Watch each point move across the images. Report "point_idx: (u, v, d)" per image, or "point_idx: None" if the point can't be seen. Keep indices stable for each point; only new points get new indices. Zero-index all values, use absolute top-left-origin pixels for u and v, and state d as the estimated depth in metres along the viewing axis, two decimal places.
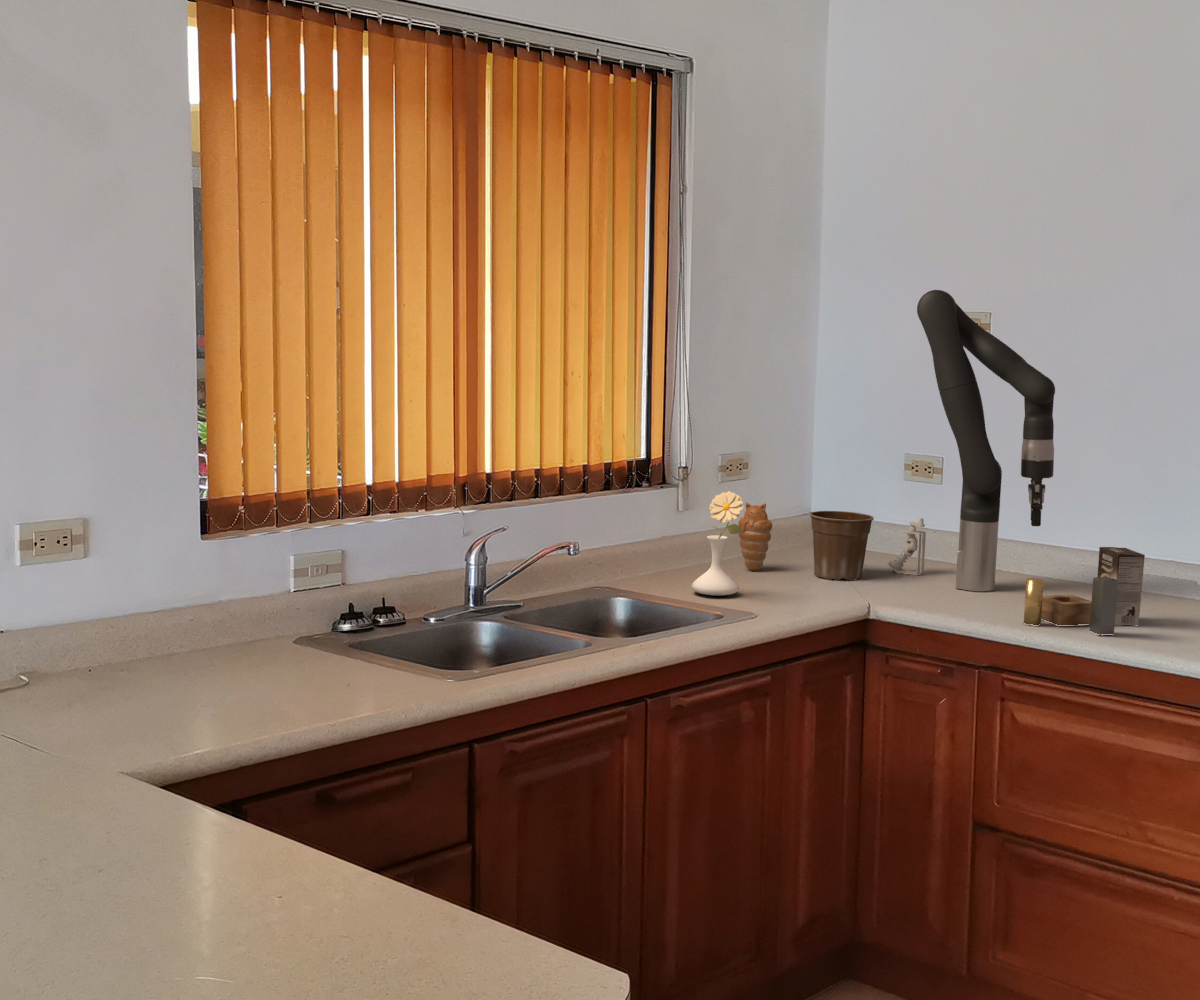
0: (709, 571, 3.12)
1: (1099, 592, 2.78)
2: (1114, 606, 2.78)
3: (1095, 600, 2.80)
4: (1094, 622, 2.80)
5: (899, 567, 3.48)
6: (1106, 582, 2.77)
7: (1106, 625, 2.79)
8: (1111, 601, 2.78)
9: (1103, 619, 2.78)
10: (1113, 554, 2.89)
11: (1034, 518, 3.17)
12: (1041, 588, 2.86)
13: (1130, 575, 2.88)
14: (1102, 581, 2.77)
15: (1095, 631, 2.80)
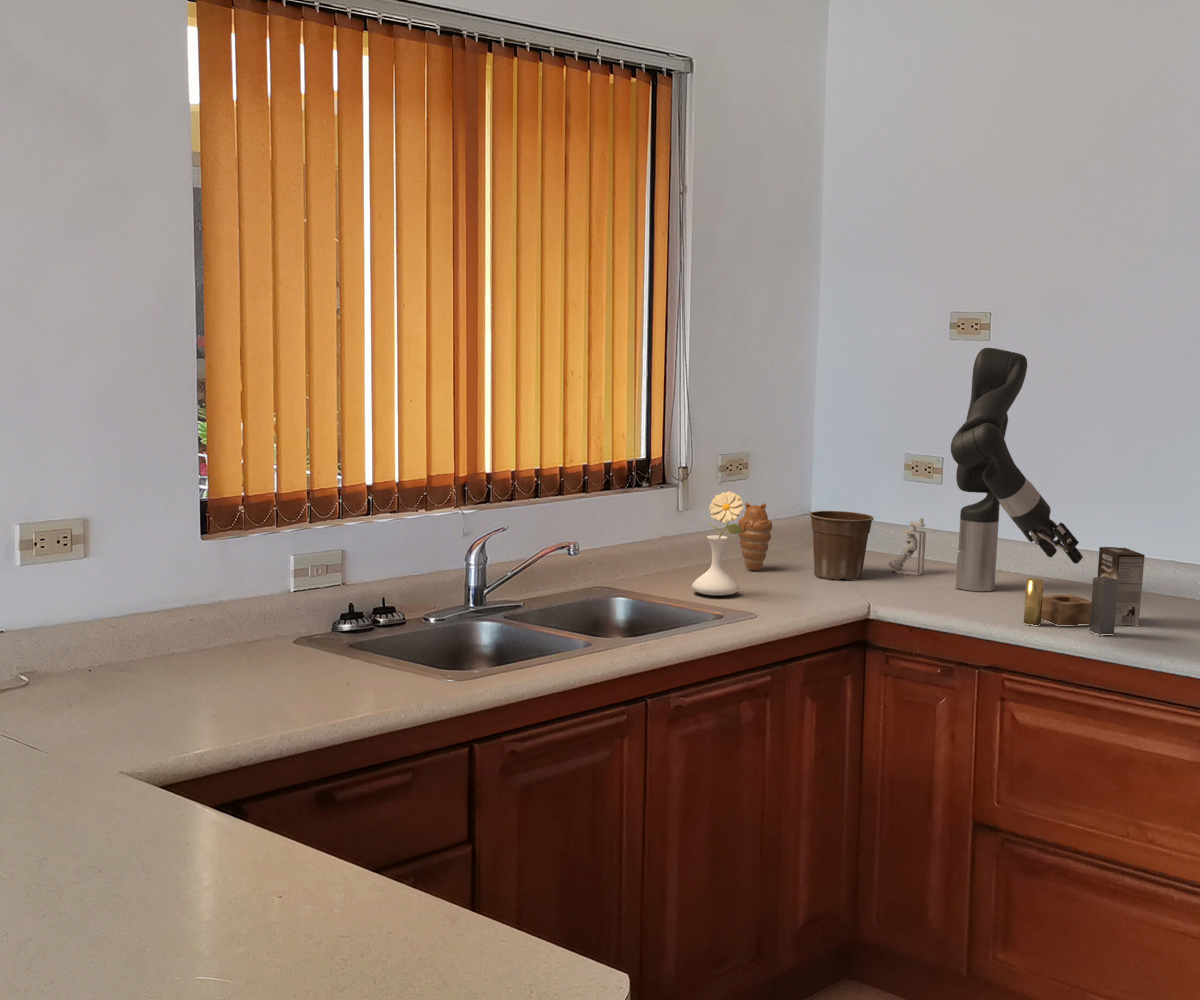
0: (709, 571, 3.12)
1: (1099, 592, 2.78)
2: (1114, 606, 2.78)
3: (1095, 600, 2.80)
4: (1094, 622, 2.80)
5: (899, 567, 3.48)
6: (1106, 582, 2.77)
7: (1106, 625, 2.79)
8: (1111, 601, 2.78)
9: (1103, 619, 2.78)
10: (1113, 554, 2.89)
11: None
12: (1041, 588, 2.86)
13: (1130, 575, 2.88)
14: (1102, 581, 2.77)
15: (1095, 631, 2.80)
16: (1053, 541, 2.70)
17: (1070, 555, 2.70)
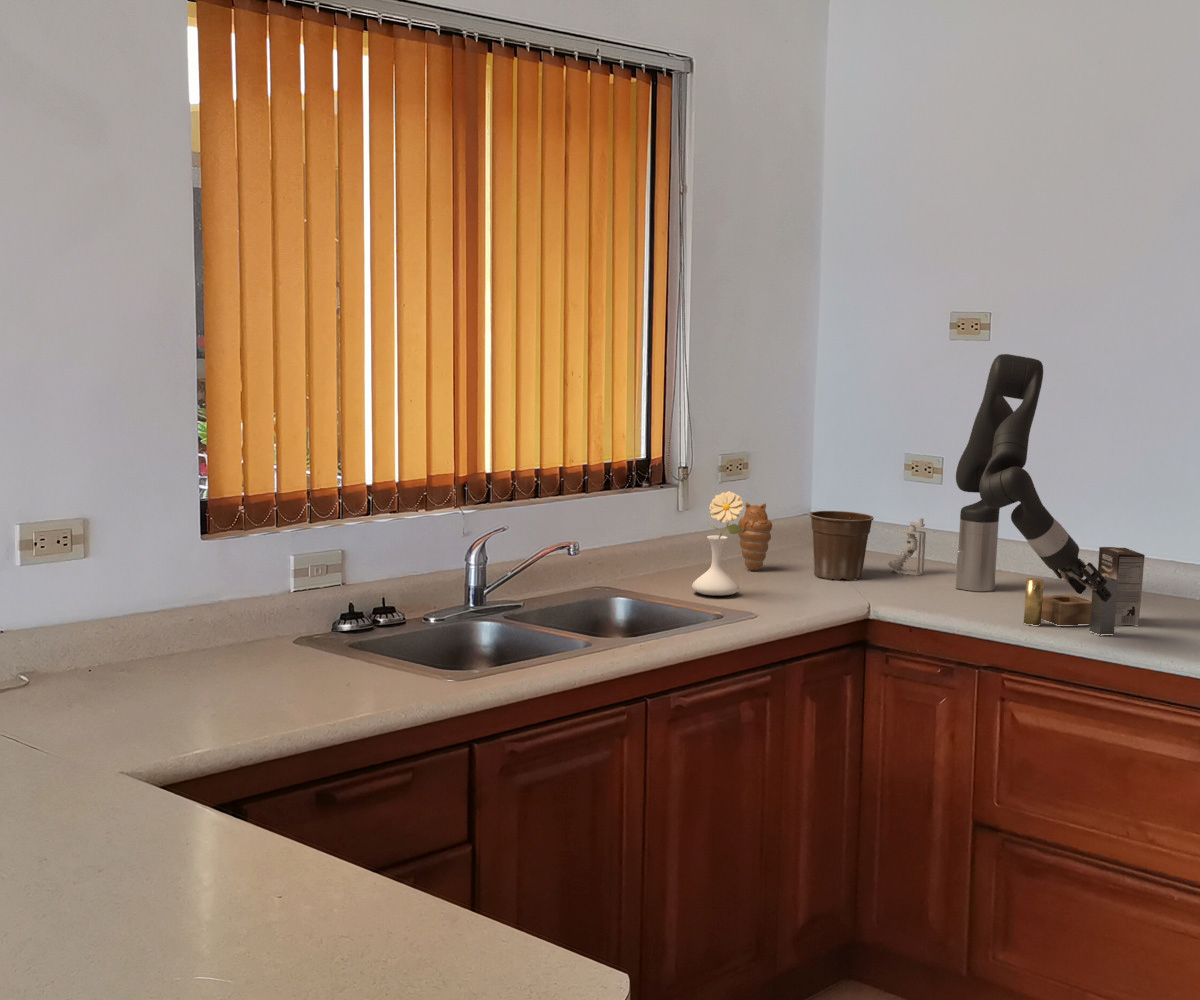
0: (709, 571, 3.12)
1: None
2: (1114, 606, 2.78)
3: (1095, 600, 2.80)
4: (1094, 622, 2.80)
5: (899, 567, 3.48)
6: None
7: (1106, 625, 2.79)
8: (1111, 601, 2.78)
9: (1103, 619, 2.78)
10: (1113, 554, 2.89)
11: None
12: (1041, 588, 2.86)
13: (1130, 575, 2.88)
14: None
15: (1095, 631, 2.80)
16: (1082, 580, 2.73)
17: (1099, 594, 2.74)
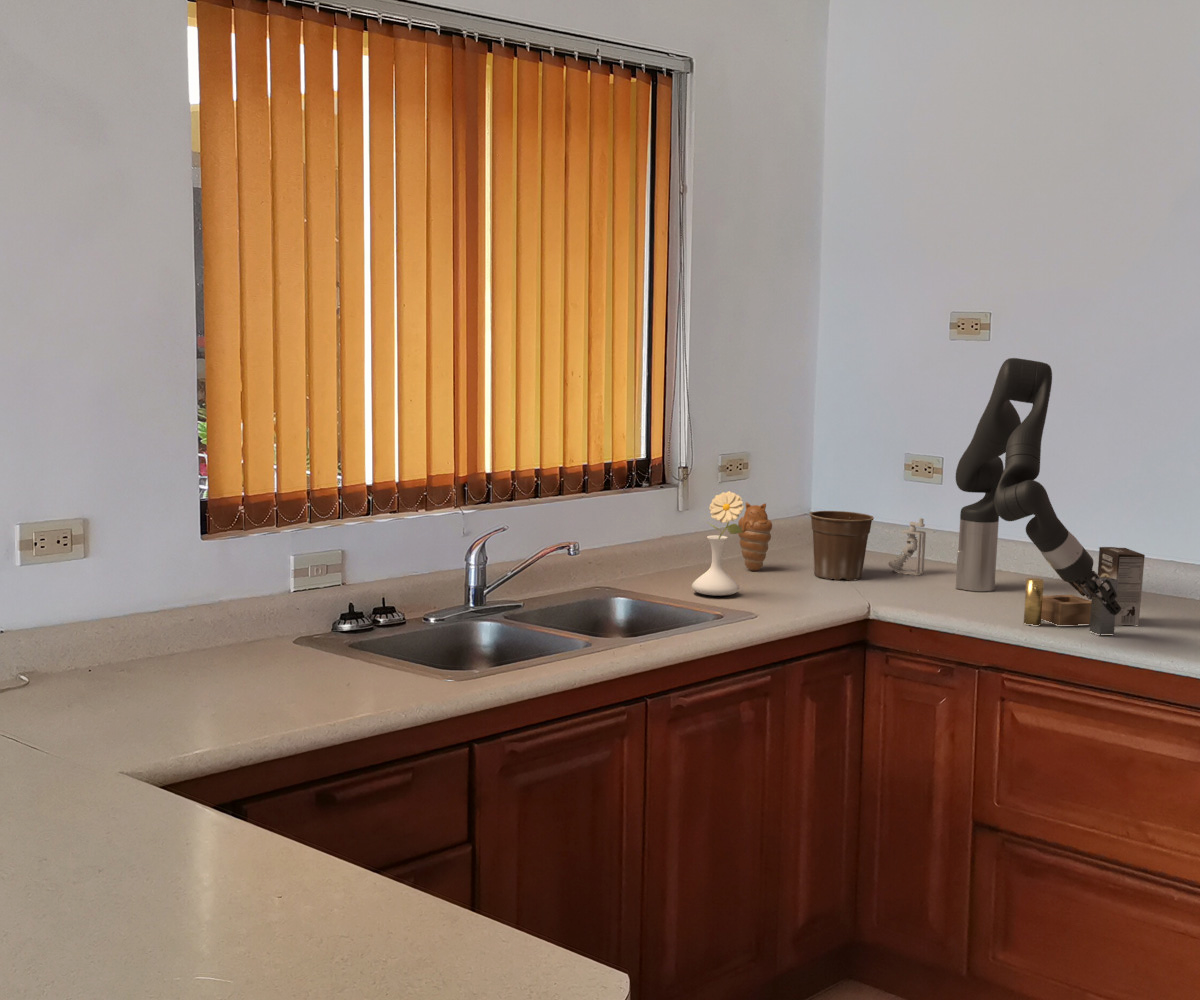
0: (709, 571, 3.12)
1: None
2: None
3: (1095, 600, 2.79)
4: (1094, 622, 2.80)
5: (899, 567, 3.48)
6: None
7: (1106, 625, 2.78)
8: None
9: (1103, 619, 2.78)
10: (1113, 554, 2.89)
11: None
12: (1041, 588, 2.86)
13: (1130, 575, 2.88)
14: None
15: (1095, 631, 2.80)
16: (1095, 594, 2.76)
17: (1109, 607, 2.77)
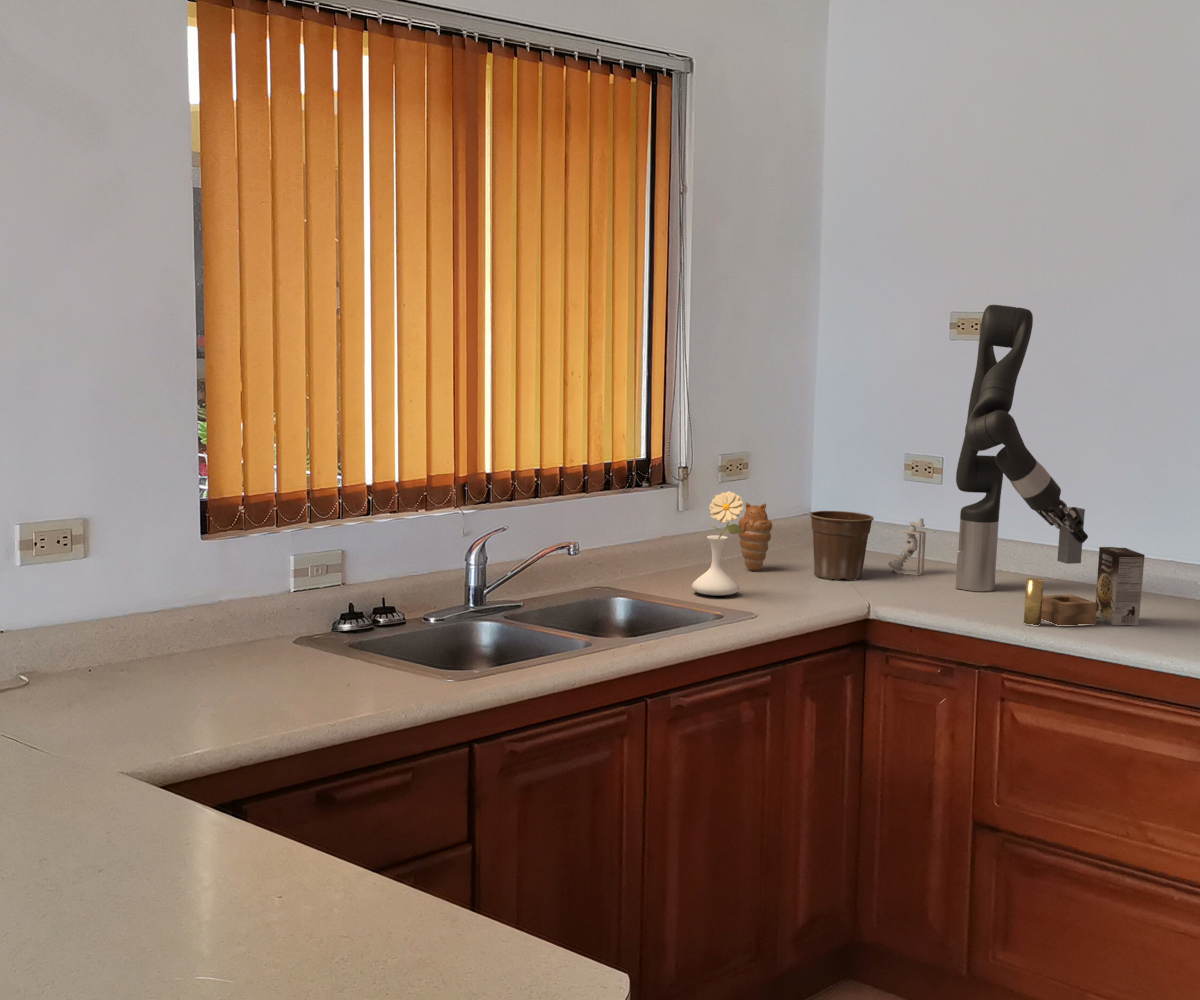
0: (709, 571, 3.12)
1: None
2: None
3: (1063, 528, 2.89)
4: (1062, 550, 2.90)
5: (899, 567, 3.48)
6: None
7: (1073, 553, 2.88)
8: None
9: (1070, 547, 2.88)
10: (1113, 554, 2.89)
11: None
12: (1041, 588, 2.86)
13: (1130, 575, 2.88)
14: None
15: (1063, 559, 2.89)
16: (1062, 522, 2.86)
17: (1076, 535, 2.87)
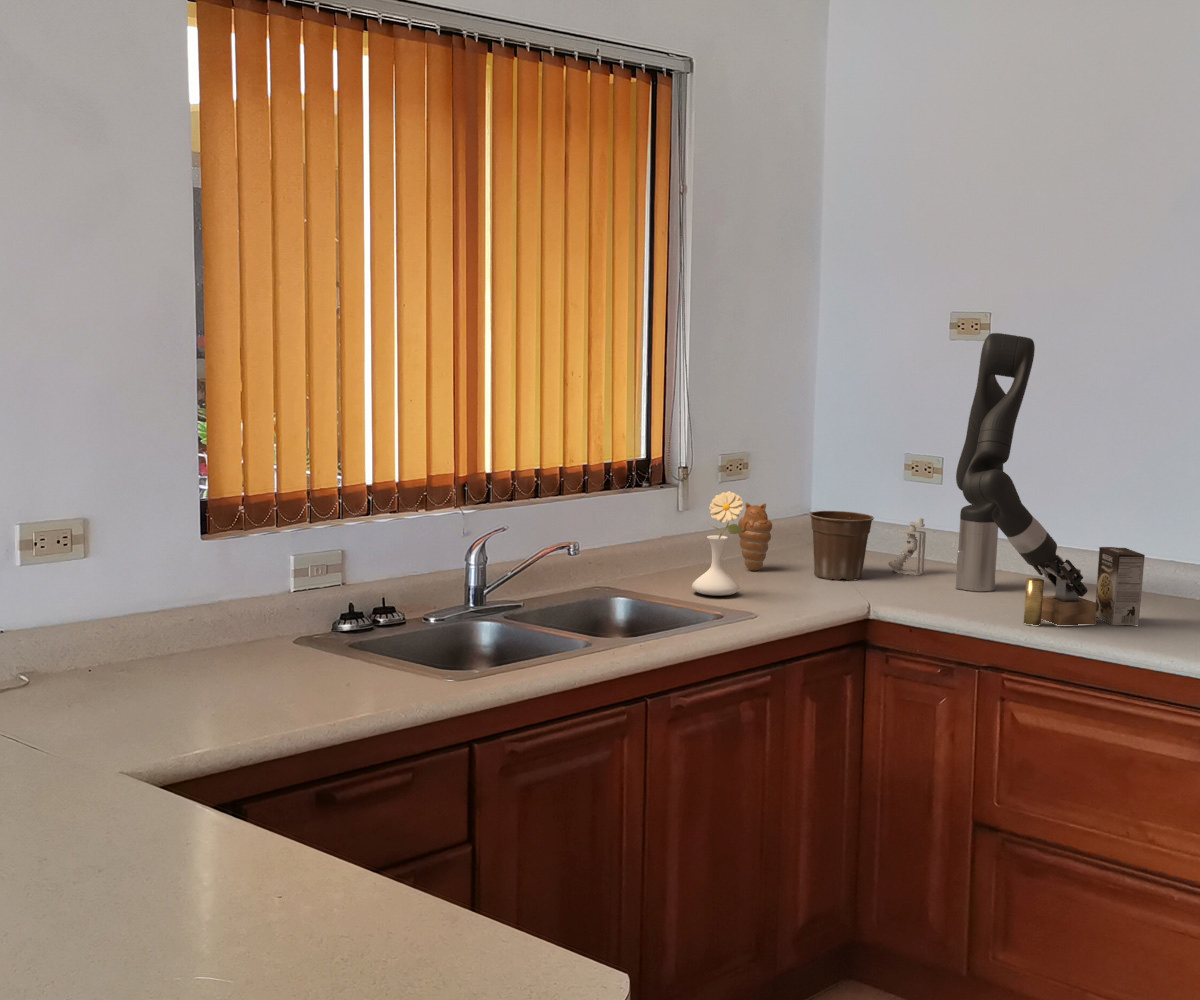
0: (709, 571, 3.12)
1: (1063, 581, 2.90)
2: (1077, 595, 2.90)
3: (1059, 589, 2.91)
4: None
5: (899, 567, 3.48)
6: None
7: None
8: None
9: None
10: (1113, 554, 2.89)
11: None
12: (1041, 588, 2.86)
13: (1130, 575, 2.88)
14: None
15: None
16: (1059, 576, 2.86)
17: (1075, 589, 2.87)
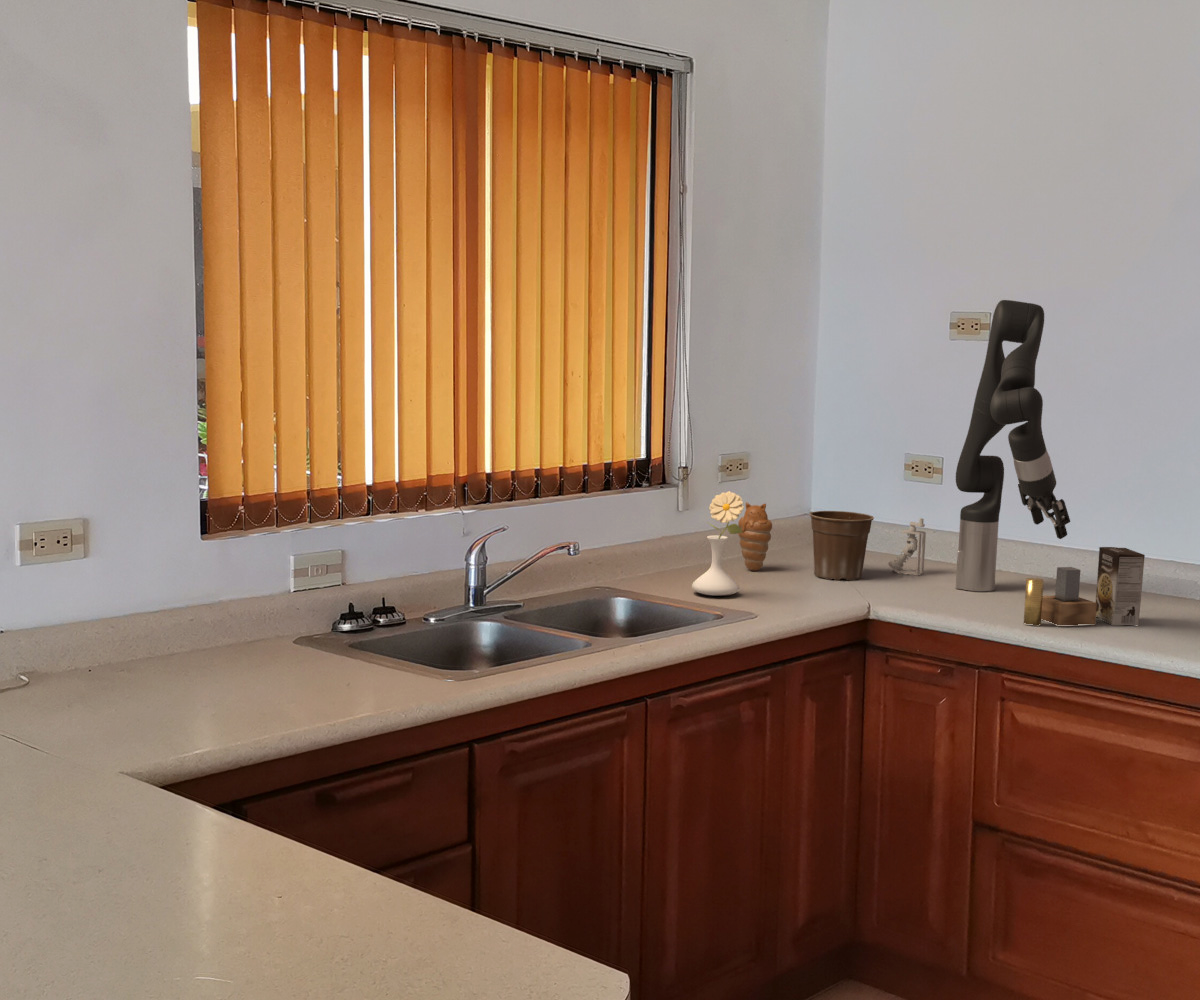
0: (709, 571, 3.12)
1: (1063, 581, 2.90)
2: (1077, 595, 2.90)
3: (1059, 589, 2.91)
4: None
5: (899, 567, 3.48)
6: (1069, 572, 2.89)
7: None
8: (1074, 590, 2.89)
9: None
10: (1113, 554, 2.89)
11: None
12: (1041, 588, 2.86)
13: (1130, 575, 2.88)
14: (1065, 571, 2.89)
15: None
16: (1047, 513, 2.86)
17: (1057, 530, 2.87)
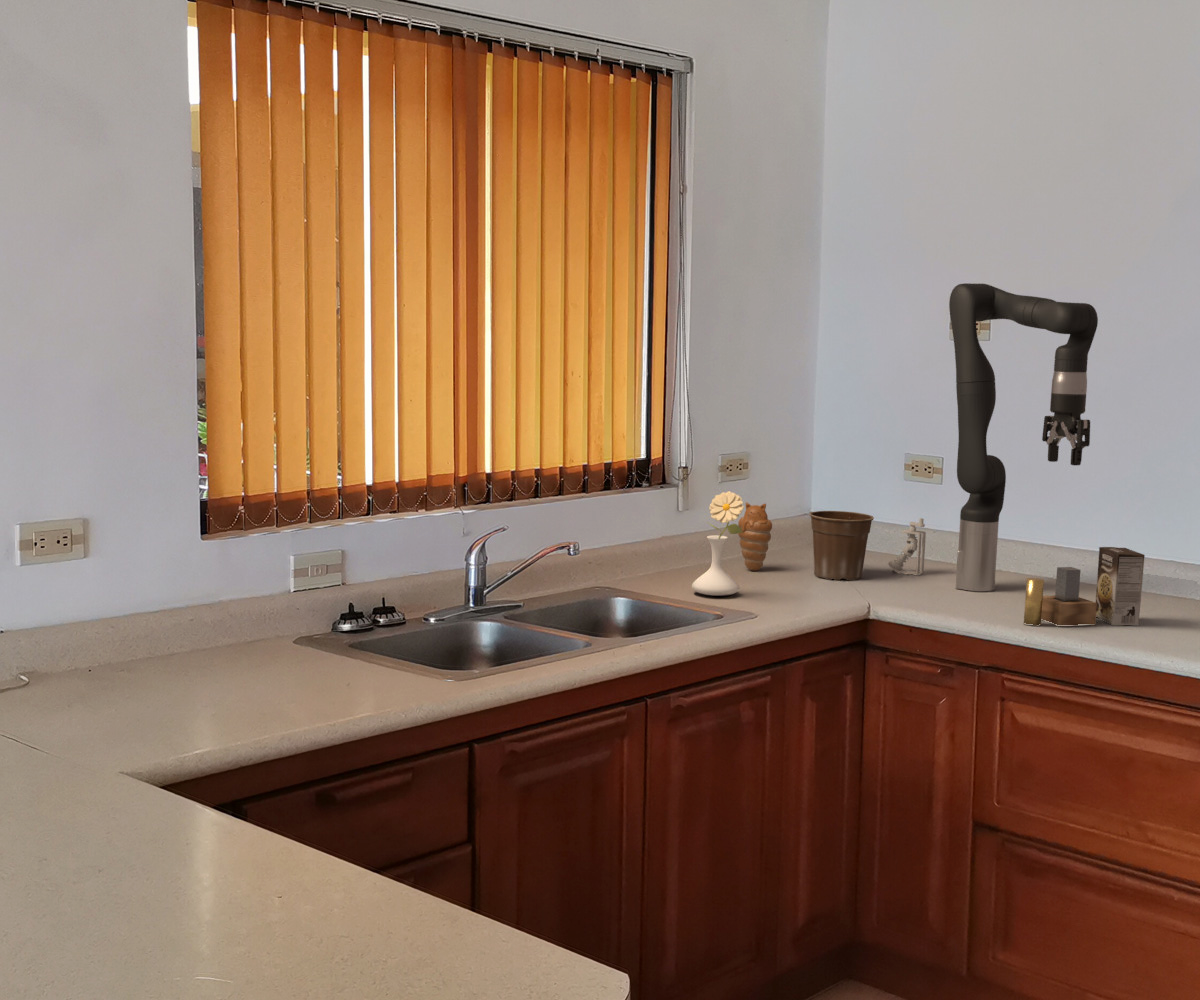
0: (709, 571, 3.12)
1: (1063, 581, 2.90)
2: (1077, 595, 2.90)
3: (1059, 589, 2.91)
4: None
5: (899, 567, 3.48)
6: (1069, 572, 2.89)
7: None
8: (1074, 590, 2.89)
9: None
10: (1113, 554, 2.89)
11: None
12: (1041, 588, 2.86)
13: (1130, 575, 2.88)
14: (1065, 571, 2.89)
15: None
16: (1070, 433, 2.95)
17: (1073, 454, 2.95)
